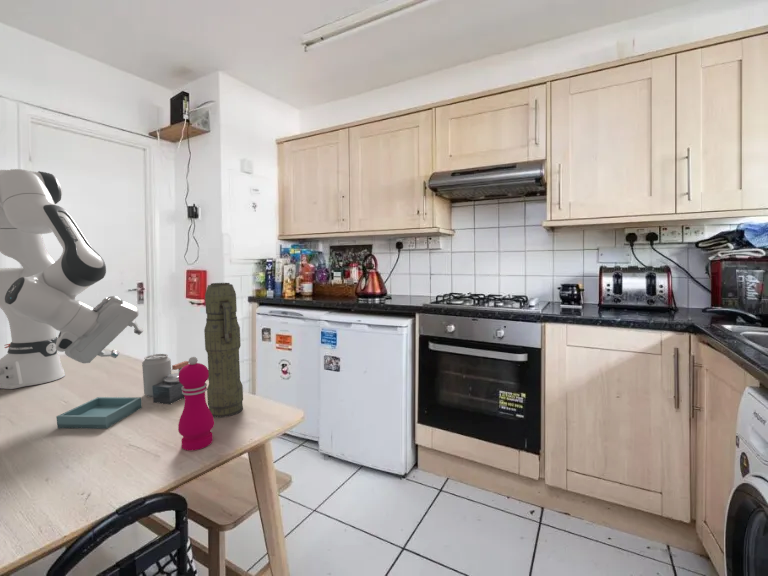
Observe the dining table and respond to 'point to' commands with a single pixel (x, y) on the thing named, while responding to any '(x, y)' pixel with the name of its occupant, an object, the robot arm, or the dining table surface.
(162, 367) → the can
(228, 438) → the dining table surface
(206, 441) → the pepper mill
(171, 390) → the crank housing
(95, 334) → the robot arm
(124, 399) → the tray
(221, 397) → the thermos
